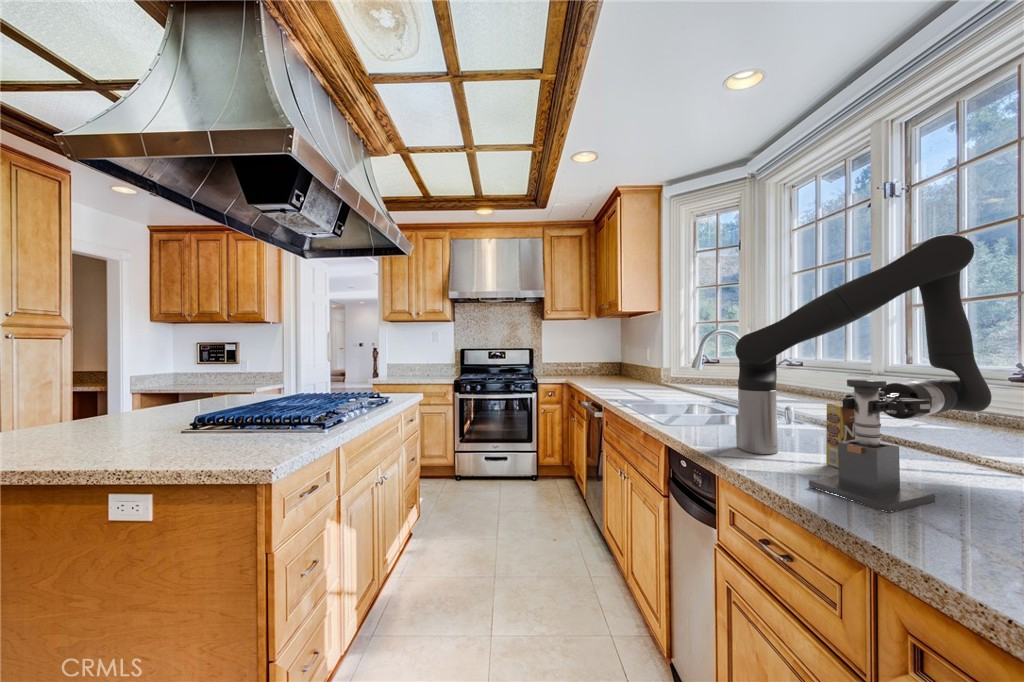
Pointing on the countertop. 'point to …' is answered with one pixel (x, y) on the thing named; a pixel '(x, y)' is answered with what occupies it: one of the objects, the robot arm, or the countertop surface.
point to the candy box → (838, 430)
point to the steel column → (866, 411)
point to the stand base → (872, 478)
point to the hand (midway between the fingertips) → (857, 405)
